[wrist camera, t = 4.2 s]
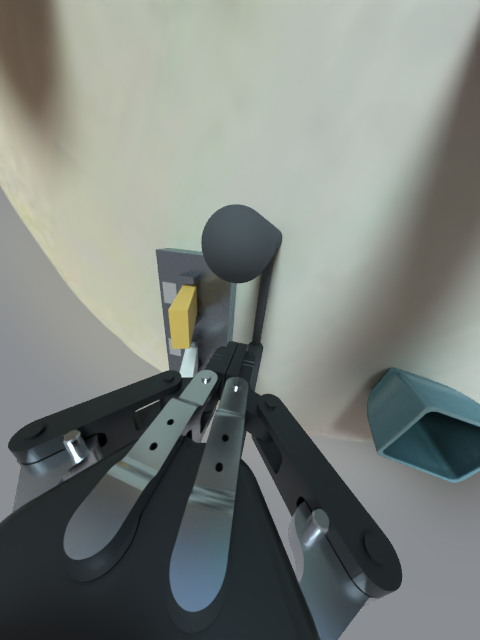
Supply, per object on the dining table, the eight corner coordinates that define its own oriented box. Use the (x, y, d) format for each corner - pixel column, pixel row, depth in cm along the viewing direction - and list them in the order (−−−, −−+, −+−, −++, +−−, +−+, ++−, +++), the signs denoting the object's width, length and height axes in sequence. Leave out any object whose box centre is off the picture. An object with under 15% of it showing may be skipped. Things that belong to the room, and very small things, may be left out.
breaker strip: (238, 256, 24) (227, 261, 19) (229, 372, 32) (220, 394, 28) (169, 248, 25) (144, 250, 21) (178, 360, 34) (162, 379, 30)
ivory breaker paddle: (197, 344, 27) (191, 386, 19) (198, 365, 28) (192, 411, 21) (186, 344, 26) (175, 387, 19) (187, 365, 28) (178, 412, 21)
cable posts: (283, 228, 21) (278, 207, 5) (262, 355, 29) (233, 497, 13) (263, 226, 21) (201, 201, 6) (247, 352, 30) (203, 486, 14)
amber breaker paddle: (196, 284, 23) (187, 310, 15) (197, 313, 24) (189, 348, 17) (183, 284, 22) (168, 309, 15) (184, 313, 24) (172, 348, 17)
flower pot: (350, 394, 29) (375, 455, 21) (383, 351, 25) (430, 406, 17) (408, 414, 28) (456, 485, 20) (452, 372, 24) (535, 442, 16)
